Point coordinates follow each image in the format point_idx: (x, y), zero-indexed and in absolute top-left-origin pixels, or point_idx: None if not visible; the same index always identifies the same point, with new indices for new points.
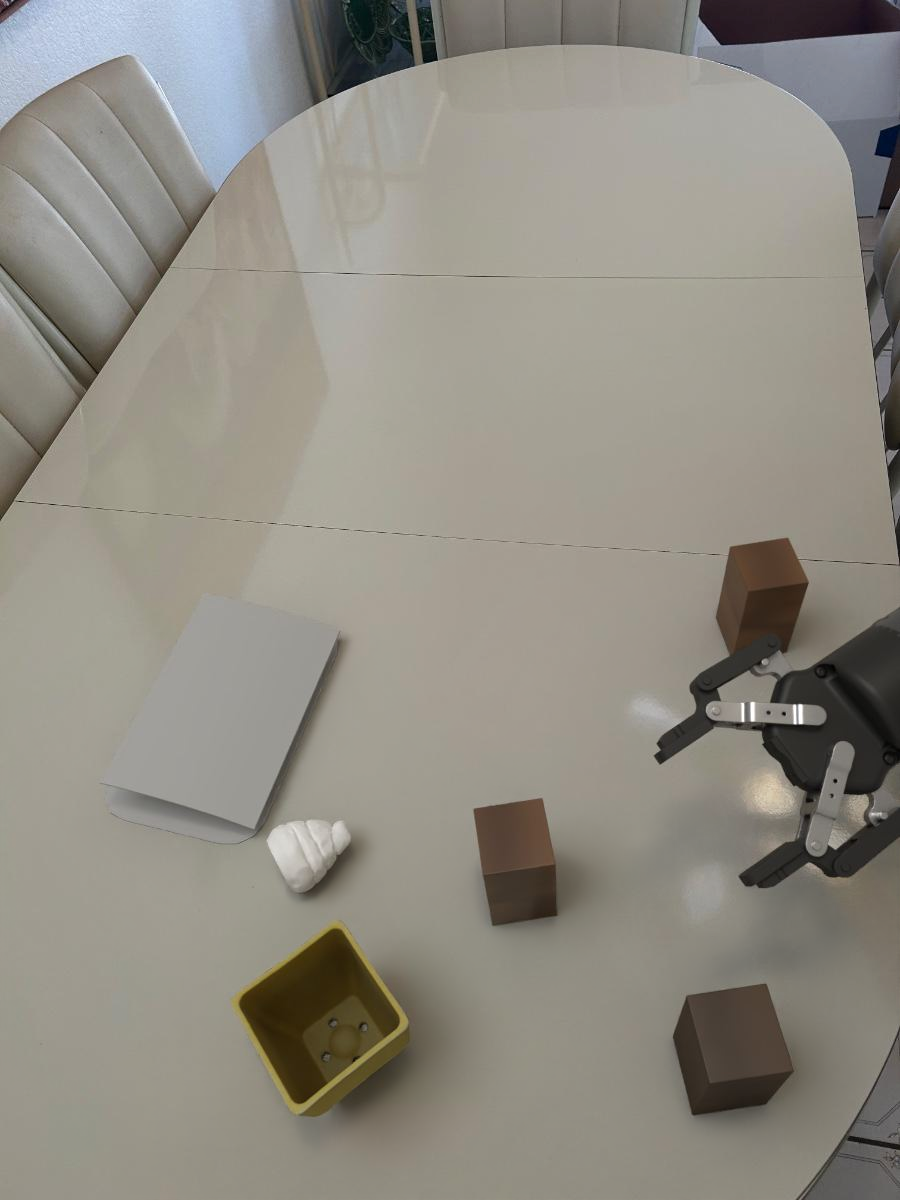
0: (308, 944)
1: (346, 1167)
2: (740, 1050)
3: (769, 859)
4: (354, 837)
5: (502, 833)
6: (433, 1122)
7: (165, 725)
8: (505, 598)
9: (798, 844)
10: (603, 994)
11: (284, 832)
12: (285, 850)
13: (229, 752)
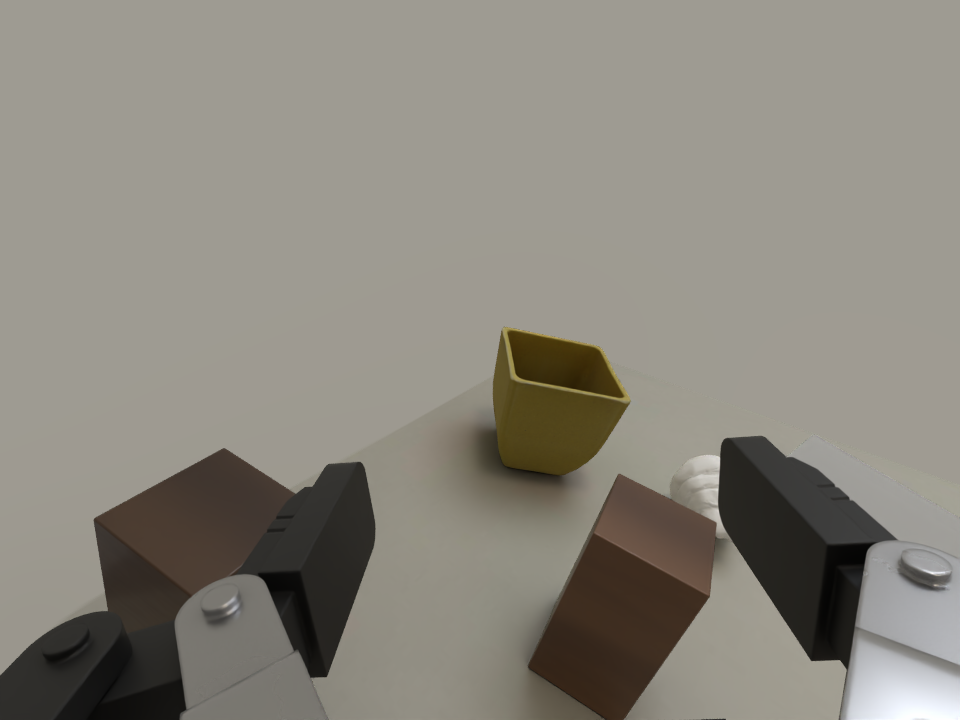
0: (618, 382)
1: (452, 411)
2: (199, 495)
3: (338, 502)
4: (716, 564)
5: (667, 521)
6: (434, 454)
7: (877, 484)
8: None
9: (286, 572)
10: (406, 634)
11: None
12: (716, 459)
13: None
